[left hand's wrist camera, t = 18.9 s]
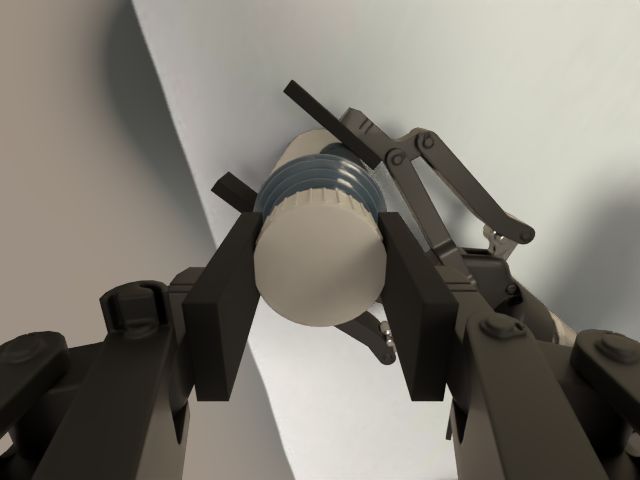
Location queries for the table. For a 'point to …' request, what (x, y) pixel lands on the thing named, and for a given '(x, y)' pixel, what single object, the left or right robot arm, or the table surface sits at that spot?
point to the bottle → (319, 173)
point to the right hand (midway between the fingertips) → (253, 136)
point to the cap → (320, 258)
